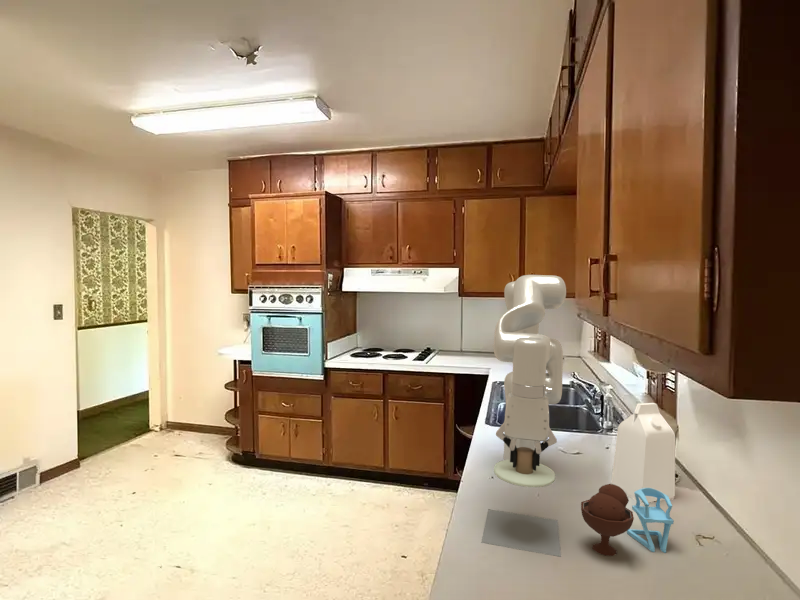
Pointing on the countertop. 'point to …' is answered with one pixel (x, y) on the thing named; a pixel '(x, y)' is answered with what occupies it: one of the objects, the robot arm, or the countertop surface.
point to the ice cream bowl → (607, 516)
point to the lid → (524, 470)
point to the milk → (645, 453)
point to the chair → (652, 518)
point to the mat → (522, 532)
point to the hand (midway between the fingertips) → (524, 466)
